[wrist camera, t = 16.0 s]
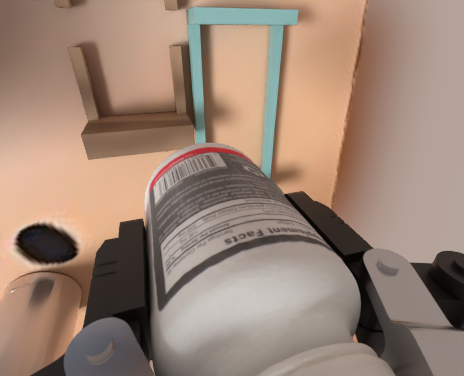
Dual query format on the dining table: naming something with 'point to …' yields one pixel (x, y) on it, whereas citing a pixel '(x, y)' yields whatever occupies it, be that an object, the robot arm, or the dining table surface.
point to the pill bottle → (243, 277)
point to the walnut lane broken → (132, 126)
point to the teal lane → (276, 22)
